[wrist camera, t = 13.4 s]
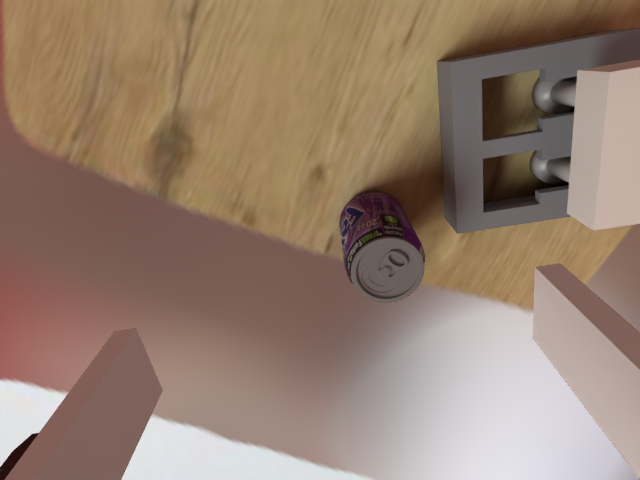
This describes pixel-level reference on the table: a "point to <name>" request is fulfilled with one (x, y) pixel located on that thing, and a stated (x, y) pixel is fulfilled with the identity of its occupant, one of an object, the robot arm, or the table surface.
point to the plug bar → (597, 143)
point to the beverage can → (380, 248)
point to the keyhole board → (549, 140)
